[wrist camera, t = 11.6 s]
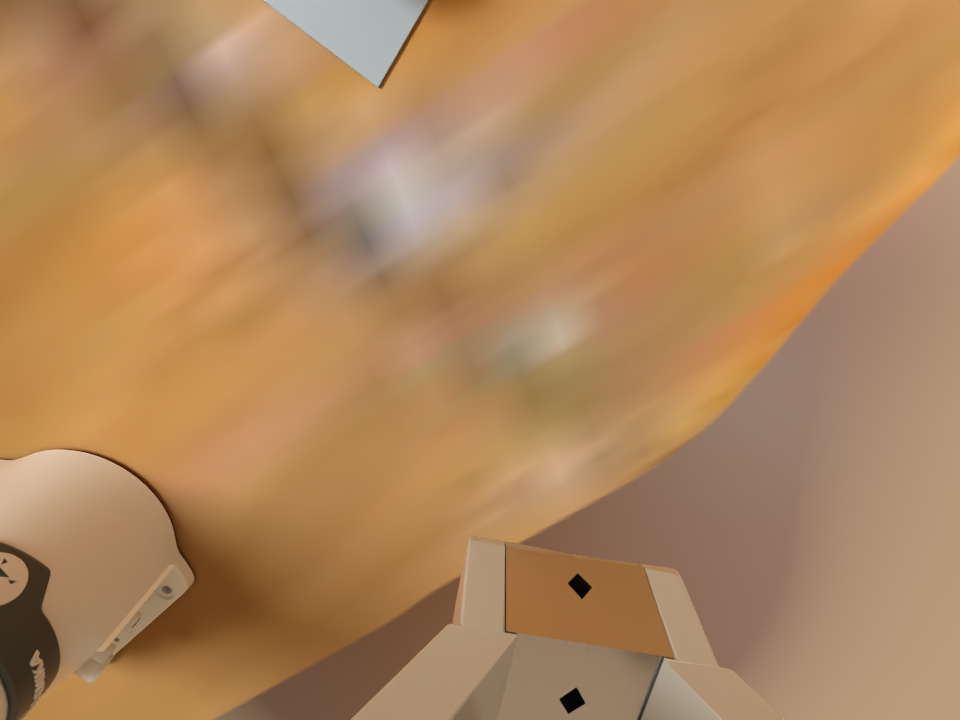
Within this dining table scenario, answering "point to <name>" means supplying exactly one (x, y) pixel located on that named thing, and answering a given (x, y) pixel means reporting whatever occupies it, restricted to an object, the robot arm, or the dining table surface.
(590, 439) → the dining table surface
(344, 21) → the mark
